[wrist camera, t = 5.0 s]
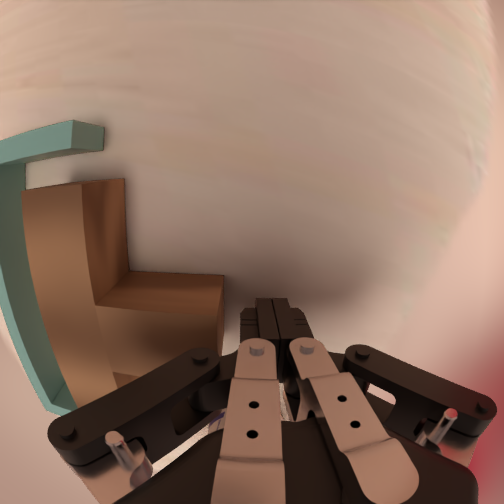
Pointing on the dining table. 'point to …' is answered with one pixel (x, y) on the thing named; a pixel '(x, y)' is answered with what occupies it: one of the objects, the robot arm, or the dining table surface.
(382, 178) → the dining table surface
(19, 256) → the bracket
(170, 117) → the dining table surface
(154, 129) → the dining table surface
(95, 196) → the t block
